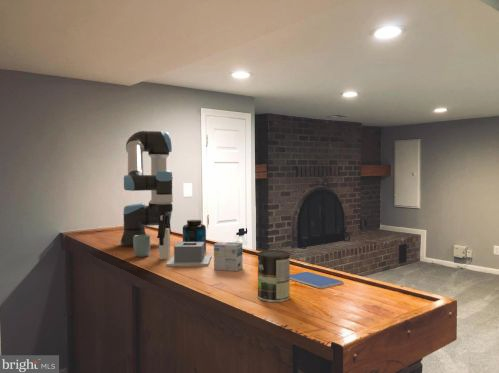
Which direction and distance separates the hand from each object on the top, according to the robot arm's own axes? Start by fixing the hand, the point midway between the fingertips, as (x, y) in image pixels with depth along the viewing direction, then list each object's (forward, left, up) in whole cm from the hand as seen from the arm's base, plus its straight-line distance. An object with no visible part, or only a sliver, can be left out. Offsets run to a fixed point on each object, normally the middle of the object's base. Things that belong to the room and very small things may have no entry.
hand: (164, 249), depth 183 cm
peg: (0, 0, -4) cm, 4 cm away
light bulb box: (+22, +31, -4) cm, 38 cm away
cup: (-5, -12, -4) cm, 14 cm away
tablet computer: (+41, +63, -5) cm, 75 cm away
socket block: (+8, +13, -4) cm, 16 cm away
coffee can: (+61, +47, -4) cm, 77 cm away
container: (-16, +12, -4) cm, 20 cm away
